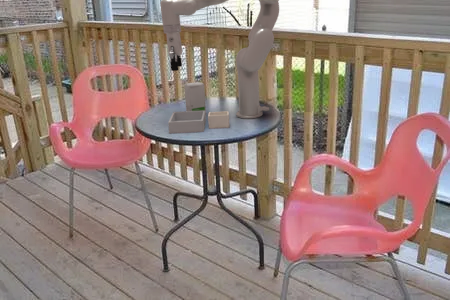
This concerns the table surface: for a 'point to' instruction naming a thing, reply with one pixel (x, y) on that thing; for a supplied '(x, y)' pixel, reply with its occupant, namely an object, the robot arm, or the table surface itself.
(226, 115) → the small crate
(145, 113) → the table surface
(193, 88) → the skincare box
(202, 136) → the table surface
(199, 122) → the base crate
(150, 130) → the table surface
